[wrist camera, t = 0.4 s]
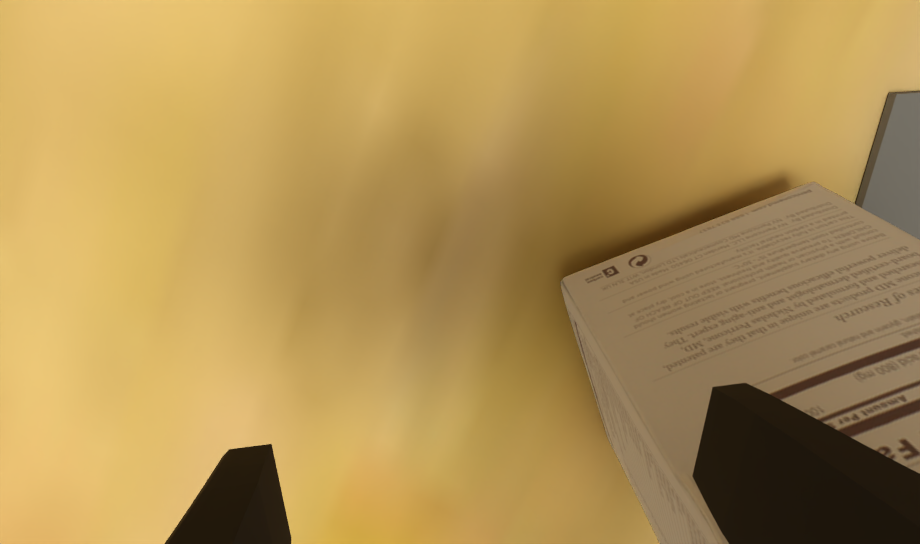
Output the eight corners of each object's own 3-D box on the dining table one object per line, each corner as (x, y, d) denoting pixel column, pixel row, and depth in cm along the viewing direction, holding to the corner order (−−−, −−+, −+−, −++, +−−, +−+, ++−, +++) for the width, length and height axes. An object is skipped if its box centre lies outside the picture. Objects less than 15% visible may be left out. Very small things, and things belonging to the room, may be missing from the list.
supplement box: (813, 366, 23) (1509, 1039, 9) (606, 443, 24) (973, 1195, 10) (818, 168, 18) (2440, 1033, 4) (552, 273, 19) (1183, 1377, 4)
